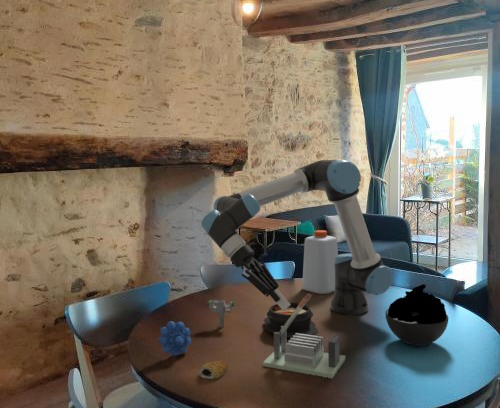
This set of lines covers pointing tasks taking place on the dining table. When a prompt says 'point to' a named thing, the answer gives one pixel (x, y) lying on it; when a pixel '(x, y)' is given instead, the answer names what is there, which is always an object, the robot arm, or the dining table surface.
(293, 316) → the retention strap
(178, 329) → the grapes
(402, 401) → the dining table surface
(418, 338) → the coal bowl
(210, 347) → the dining table surface
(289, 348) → the heat sink
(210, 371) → the pastry
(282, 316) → the casserole
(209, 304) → the mechanical component
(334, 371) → the circuit board
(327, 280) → the plastic bottle
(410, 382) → the dining table surface
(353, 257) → the robot arm
